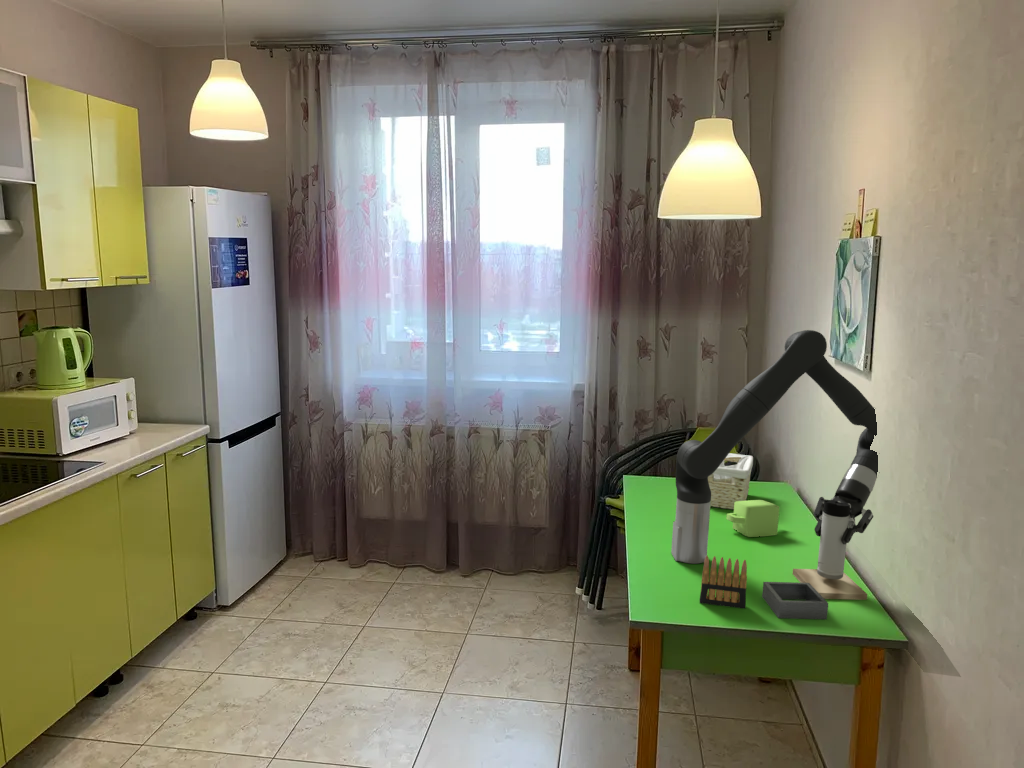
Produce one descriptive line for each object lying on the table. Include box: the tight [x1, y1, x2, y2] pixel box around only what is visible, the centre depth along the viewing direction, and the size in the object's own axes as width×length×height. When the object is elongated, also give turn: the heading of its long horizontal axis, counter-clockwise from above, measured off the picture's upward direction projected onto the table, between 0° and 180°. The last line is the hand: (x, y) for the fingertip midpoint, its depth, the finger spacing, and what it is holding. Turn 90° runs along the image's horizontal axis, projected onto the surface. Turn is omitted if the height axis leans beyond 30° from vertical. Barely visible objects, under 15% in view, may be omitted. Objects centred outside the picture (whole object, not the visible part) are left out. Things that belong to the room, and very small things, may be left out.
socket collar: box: [761, 581, 829, 620], centre depth 181 cm, size 11×11×4 cm
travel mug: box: [816, 499, 850, 580], centre depth 192 cm, size 6×7×20 cm
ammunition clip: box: [699, 555, 748, 609], centre depth 181 cm, size 11×2×12 cm, turn 77°
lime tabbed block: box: [726, 499, 780, 538], centre depth 233 cm, size 18×10×10 cm, turn 108°
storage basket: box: [708, 453, 754, 510], centre depth 264 cm, size 24×16×15 cm
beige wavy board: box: [792, 568, 868, 601], centre depth 194 cm, size 13×15×2 cm
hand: (830, 538), depth 191 cm, fingers closed on travel mug, 6 cm apart
